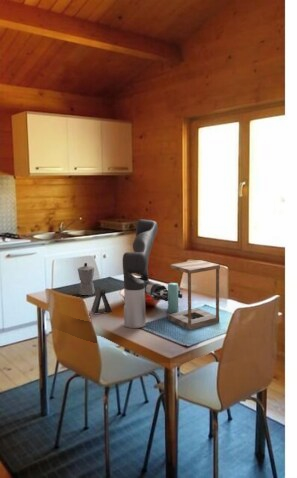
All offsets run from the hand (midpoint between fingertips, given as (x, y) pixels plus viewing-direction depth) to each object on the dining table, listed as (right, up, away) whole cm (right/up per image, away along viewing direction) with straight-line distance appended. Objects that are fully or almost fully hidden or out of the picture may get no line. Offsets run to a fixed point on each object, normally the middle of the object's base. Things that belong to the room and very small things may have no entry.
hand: (174, 297), depth 211 cm
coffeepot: (-48, -3, +38) cm, 61 cm away
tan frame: (+8, -9, -11) cm, 17 cm away
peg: (-1, -7, +2) cm, 8 cm away
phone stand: (-36, -8, +6) cm, 37 cm away
